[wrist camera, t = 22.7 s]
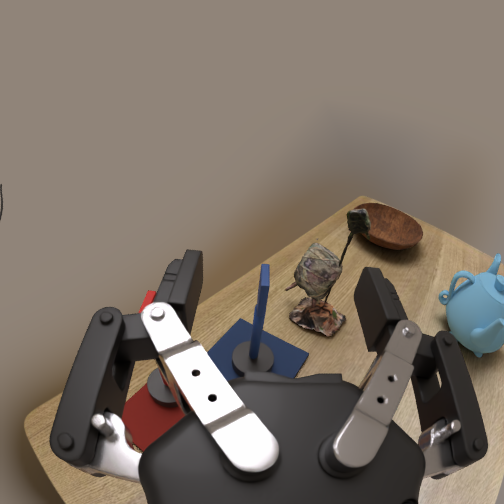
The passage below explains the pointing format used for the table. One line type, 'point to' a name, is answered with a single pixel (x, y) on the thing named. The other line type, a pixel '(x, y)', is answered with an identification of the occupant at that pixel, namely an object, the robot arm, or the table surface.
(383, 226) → the bowl
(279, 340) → the blue mat
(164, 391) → the red paddle on stand
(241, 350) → the blue signpost
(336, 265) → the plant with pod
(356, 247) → the table surface
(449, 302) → the teapot
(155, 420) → the red mat
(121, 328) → the robot arm
